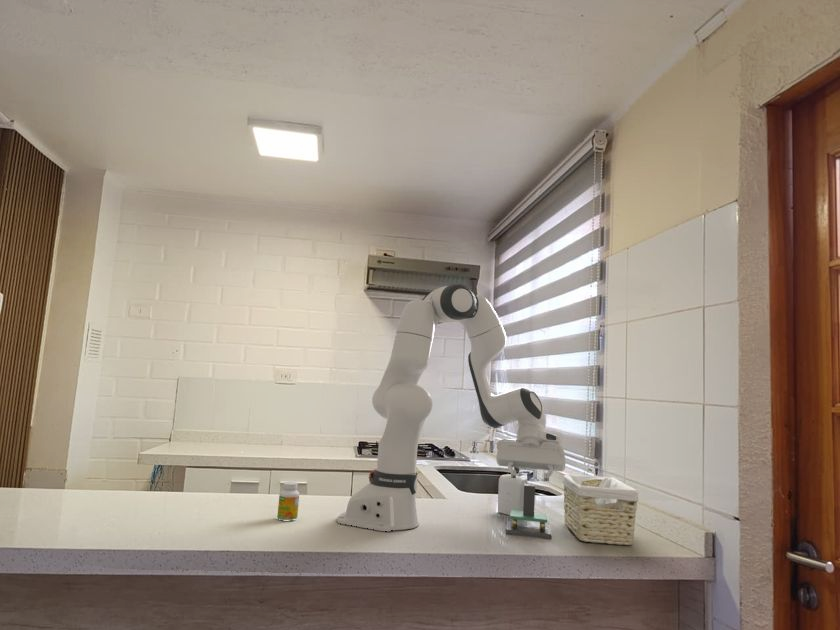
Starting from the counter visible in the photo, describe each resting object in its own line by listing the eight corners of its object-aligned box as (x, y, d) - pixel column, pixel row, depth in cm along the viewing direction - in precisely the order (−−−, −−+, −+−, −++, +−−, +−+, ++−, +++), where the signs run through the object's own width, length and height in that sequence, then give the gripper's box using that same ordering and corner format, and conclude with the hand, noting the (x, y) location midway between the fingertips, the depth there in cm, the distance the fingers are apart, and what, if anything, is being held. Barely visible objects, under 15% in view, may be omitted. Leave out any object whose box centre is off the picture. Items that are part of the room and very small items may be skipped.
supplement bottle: (273, 520, 146) (276, 483, 147) (282, 516, 151) (286, 480, 152) (291, 522, 144) (294, 485, 146) (300, 518, 150) (303, 482, 151)
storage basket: (560, 521, 165) (561, 472, 167) (614, 526, 163) (615, 476, 165) (576, 544, 141) (578, 486, 143) (640, 549, 140) (640, 490, 142)
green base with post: (510, 518, 149) (511, 485, 150) (510, 512, 156) (512, 481, 158) (547, 522, 147) (548, 489, 148) (546, 516, 154) (547, 484, 156)
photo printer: (495, 512, 172) (496, 472, 174) (504, 510, 175) (505, 471, 176) (520, 519, 164) (521, 477, 166) (529, 518, 167) (530, 477, 168)
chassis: (505, 533, 146) (506, 520, 147) (507, 523, 158) (508, 510, 159) (551, 538, 144) (551, 524, 144) (549, 528, 156) (549, 515, 156)
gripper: (497, 431, 167) (493, 468, 156) (565, 437, 163) (566, 475, 152) (497, 445, 171) (494, 481, 160) (563, 450, 167) (565, 488, 156)
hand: (529, 478), depth 156 cm, fingers open, 8 cm apart
